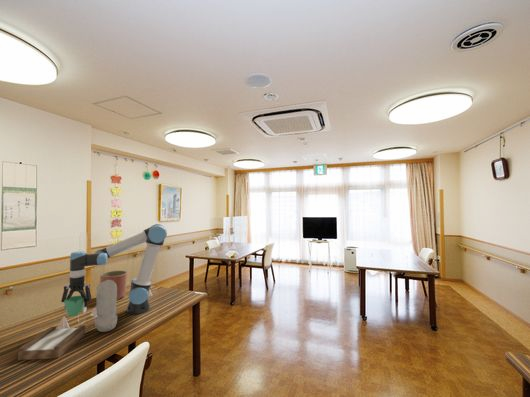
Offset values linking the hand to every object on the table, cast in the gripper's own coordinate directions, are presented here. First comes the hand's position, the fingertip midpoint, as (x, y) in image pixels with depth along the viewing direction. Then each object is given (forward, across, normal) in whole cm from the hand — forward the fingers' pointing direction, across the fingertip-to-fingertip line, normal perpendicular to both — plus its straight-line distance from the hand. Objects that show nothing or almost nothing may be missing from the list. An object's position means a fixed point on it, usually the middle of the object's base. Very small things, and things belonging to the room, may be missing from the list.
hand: (76, 312), depth 152 cm
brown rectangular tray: (+8, -2, +22) cm, 24 cm away
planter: (+9, 0, -49) cm, 50 cm away
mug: (+1, -1, 0) cm, 1 cm away
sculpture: (+9, -20, +6) cm, 23 cm away
